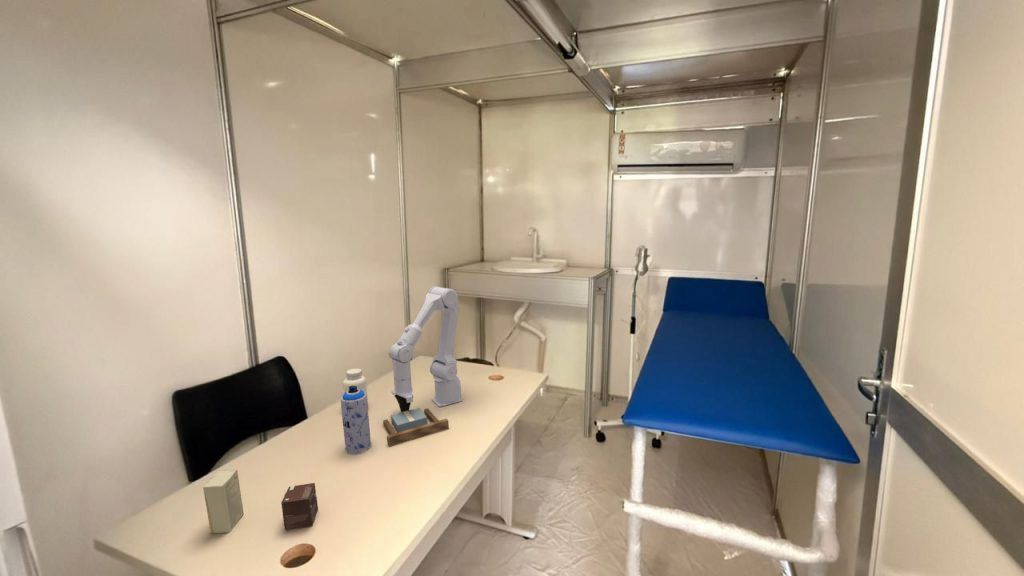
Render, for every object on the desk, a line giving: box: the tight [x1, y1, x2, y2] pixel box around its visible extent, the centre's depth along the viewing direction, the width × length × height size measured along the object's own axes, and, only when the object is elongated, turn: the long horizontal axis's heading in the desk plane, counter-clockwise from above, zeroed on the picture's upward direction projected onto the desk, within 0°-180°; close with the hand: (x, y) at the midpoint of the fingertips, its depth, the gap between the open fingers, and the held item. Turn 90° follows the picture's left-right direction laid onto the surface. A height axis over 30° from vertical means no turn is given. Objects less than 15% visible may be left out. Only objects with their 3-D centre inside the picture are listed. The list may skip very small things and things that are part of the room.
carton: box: [390, 407, 428, 433], centre depth 142 cm, size 10×8×4 cm
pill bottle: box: [342, 368, 369, 405], centre depth 153 cm, size 8×8×15 cm
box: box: [281, 482, 319, 531], centre depth 98 cm, size 6×6×7 cm
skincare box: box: [202, 469, 244, 534], centre depth 97 cm, size 6×4×12 cm
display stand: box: [382, 407, 450, 447], centre depth 140 cm, size 20×14×3 cm
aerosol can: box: [340, 386, 373, 455], centre depth 127 cm, size 8×8×20 cm
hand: (405, 413), depth 146 cm, fingers closed
